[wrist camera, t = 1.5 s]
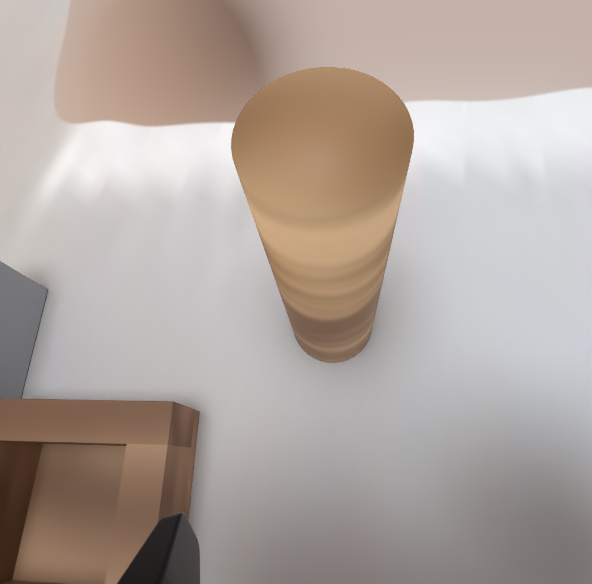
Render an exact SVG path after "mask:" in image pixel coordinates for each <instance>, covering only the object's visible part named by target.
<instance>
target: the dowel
mask: <svg viewBox="0 0 592 584" xmlns="http://www.w3.org/2000/svg"><path fill="white" fill-rule="evenodd" d="M413 143H414V130H413V124H412V120H411V117H410V114H409V112H408V110H407V108H406V106H405V104H404V103H403V102H402V100H401V99H400V98H399V96H398V95H397V94H396V93H395V92H394V91H393V90H392V89H390V88H389V87H388V86H387V85H385V84H384V83H383V82H381V81H379V80H377V79H376V78H374V77H372V76H369V75H367V74H364V73H361V72H358V71H355V70H350V69H345V68H335V67H320V68H311V69H306V70H301V71H297V72H294V73H291V74H288V75H285V76H283V77H281V78H278V79H277V80H275V81H273V82H271V83H269V84H268V85H267V86H265V87H264V88H262V89H261V90H260V91H259V92H257V93H256V94H255V95H254V96H253V97H252V98H251V99H250V100H249V101H248V103H247V104H246V105H245V107H244V108H243V110H242V111H241V112H240V114H239V116H238V118H237V121H236V123H235V126H234V129H233V134H232V140H231V150H232V157H233V161H234V164H235V167H236V170H237V173H238V176H239V179H240V181H241V184H242V187H243V190H244V193H245V195H246V198H247V201H248V204H249V207H250V210H251V212H252V215H253V218H254V221H255V224H256V227H257V229H258V232H259V235H260V238H261V241H262V244H263V246H264V249H265V252H266V255H267V258H268V261H269V263H270V266H271V269H272V272H273V275H274V278H275V280H276V283H277V286H278V289H279V292H280V294H281V297H282V300H283V303H284V306H285V309H286V311H287V314H288V317H289V320H290V323H291V326H292V328H293V331H294V334H295V337H296V339H297V341H298V343H299V345H300V346H301V348H302V349H303V350H304V351H305V352H306V353H307V354H308V355H310V356H311V357H313V358H315V359H317V360H320V361H324V362H332V363H333V362H341V361H345V360H348V359H350V358H352V357H354V356H355V355H357V354H358V353H359V352H360V351H361V350H362V349H363V348H364V347H365V345H366V344H367V342H368V340H369V337H370V334H371V330H372V326H373V321H374V317H375V313H376V308H377V304H378V299H379V295H380V291H381V286H382V282H383V277H384V273H385V268H386V264H387V260H388V255H389V251H390V246H391V242H392V238H393V233H394V229H395V224H396V220H397V216H398V211H399V207H400V202H401V198H402V193H403V189H404V185H405V180H406V176H407V171H408V167H409V163H410V158H411V154H412V149H413Z"/></svg>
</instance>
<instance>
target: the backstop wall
mask: <svg viewBox="0 0 592 584" xmlns="http://www.w3.org/2000/svg"><path fill="white" fill-rule="evenodd" d="M47 291H48V290H47V289H46V288H44V287H42V286H41V285H39V284H37V283H36V282H34V281H32V280H31V279H29V278H27V277H26V276H24V275H22V274H21V273H19V272H17V271H16V270H14V269H12V268H11V267H9V266H7V265H6V264H4V263H2V262H1V261H0V399H21V395H22V391H23V387H24V383H25V379H26V375H27V371H28V367H29V363H30V359H31V355H32V351H33V347H34V343H35V339H36V335H37V331H38V327H39V323H40V319H41V315H42V311H43V307H44V303H45V299H46V295H47Z"/></svg>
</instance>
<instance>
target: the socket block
mask: <svg viewBox="0 0 592 584" xmlns="http://www.w3.org/2000/svg"><path fill="white" fill-rule="evenodd" d="M198 421H199V411H196V410H194V409H191V408H189V407H186V406H183V405H181V404H178V403H176V402H171V401H114V400H56V399H0V584H117V583H118V581H119V580H120V578H121V577H122V575H123V574H124V572H125V571H126V569H127V568H128V566H129V565H130V563H131V562H132V560H133V559H134V557H135V556H136V554H137V553H138V551H139V550H140V548H141V547H142V545H143V544H144V542H145V541H146V539H147V538H148V536H149V535H150V534H151V532H152V531H153V529H154V528H155V526H156V525H157V523H158V522H159V520H160V519H161V518H162V517H164V516H166V515H170V514H174V513H177V512H183V513H184V514H185V515H186V517H187V519H188V517H189V508H190V498H191V488H192V479H193V469H194V460H195V450H196V440H197V431H198Z"/></svg>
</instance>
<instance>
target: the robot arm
mask: <svg viewBox="0 0 592 584" xmlns="http://www.w3.org/2000/svg"><path fill="white" fill-rule="evenodd" d="M117 584H200V552H199V544H198V540H197V538H196V535H195V533H194V531H193V529H192V527H191V525H190V523H189V521H188V519H187V517H186V515H185V514H184V513H183V512H177V513H174V514H170V515H166V516H164V517H162V518H161V519H160V520H159V522H158V523H157V525H156V526H155V528H154V529H153V531H152V532H151V534H150V535H149V536H148V538H147V539H146V541H145V542H144V544H143V545H142V547H141V548H140V550H139V551H138V553H137V554H136V556H135V557H134V559H133V560H132V562H131V563H130V565H129V566H128V568H127V569H126V571H125V572H124V574H123V575H122V577H121V578H120V580H119V581H118V583H117Z"/></svg>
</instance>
